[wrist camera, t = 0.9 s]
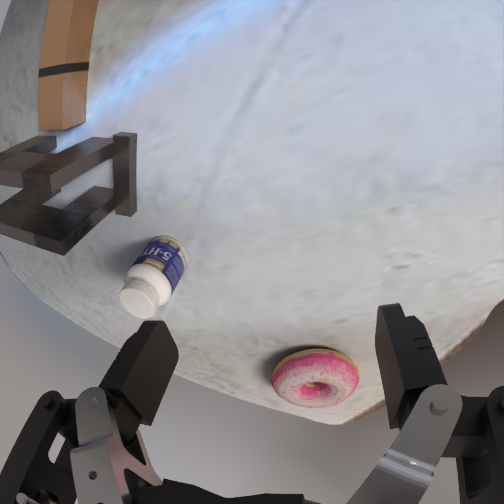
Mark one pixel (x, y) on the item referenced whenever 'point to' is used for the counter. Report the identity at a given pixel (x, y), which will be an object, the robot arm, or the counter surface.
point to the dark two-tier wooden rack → (57, 175)
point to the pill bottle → (153, 276)
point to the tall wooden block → (65, 63)
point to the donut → (315, 378)
